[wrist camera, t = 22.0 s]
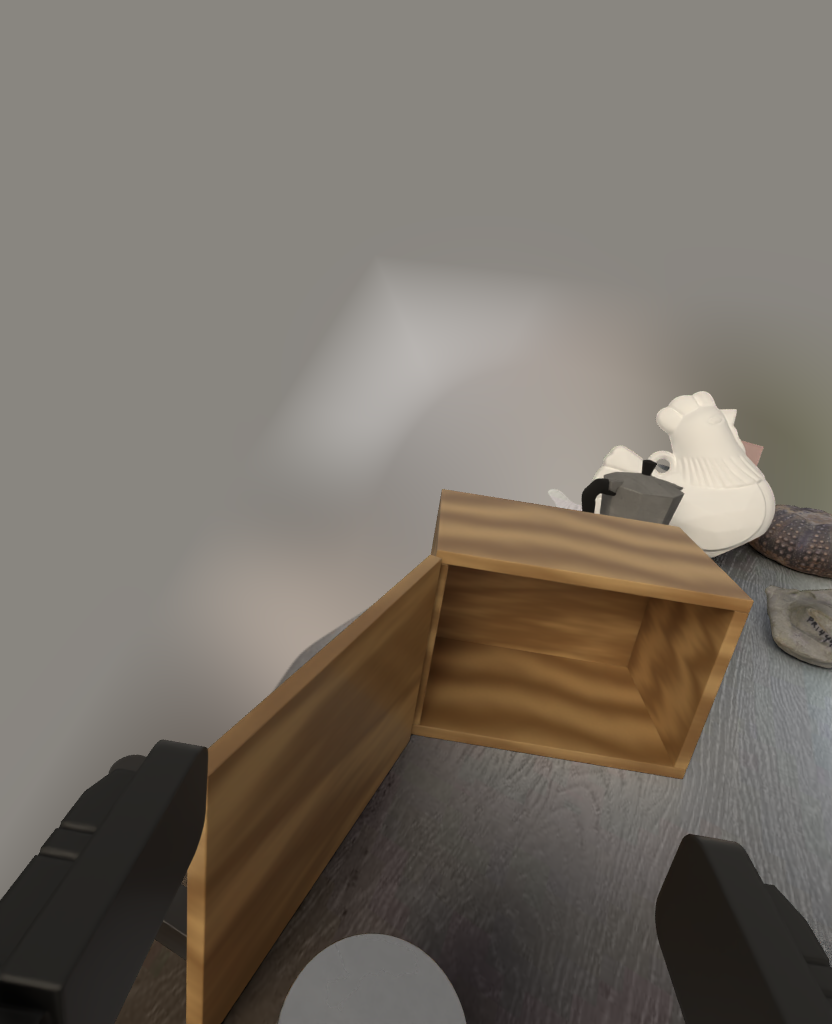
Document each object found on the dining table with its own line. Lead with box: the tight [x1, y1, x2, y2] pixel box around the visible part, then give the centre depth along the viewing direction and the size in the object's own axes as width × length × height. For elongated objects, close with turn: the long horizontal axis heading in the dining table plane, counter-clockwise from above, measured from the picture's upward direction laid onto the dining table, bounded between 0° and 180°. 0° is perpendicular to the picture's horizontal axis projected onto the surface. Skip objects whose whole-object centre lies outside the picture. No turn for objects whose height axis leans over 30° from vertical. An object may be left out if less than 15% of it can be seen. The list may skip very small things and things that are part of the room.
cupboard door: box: [109, 555, 442, 1024], centre depth 33 cm, size 6×22×16 cm, turn 156°
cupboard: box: [411, 489, 753, 779], centre depth 48 cm, size 14×22×16 cm, turn 86°
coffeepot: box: [582, 460, 684, 525], centre depth 71 cm, size 15×9×18 cm, turn 114°
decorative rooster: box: [592, 391, 775, 558], centre depth 90 cm, size 25×16×25 cm
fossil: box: [765, 585, 832, 668], centre depth 65 cm, size 11×9×8 cm
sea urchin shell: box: [748, 505, 832, 578], centre depth 96 cm, size 19×19×10 cm
